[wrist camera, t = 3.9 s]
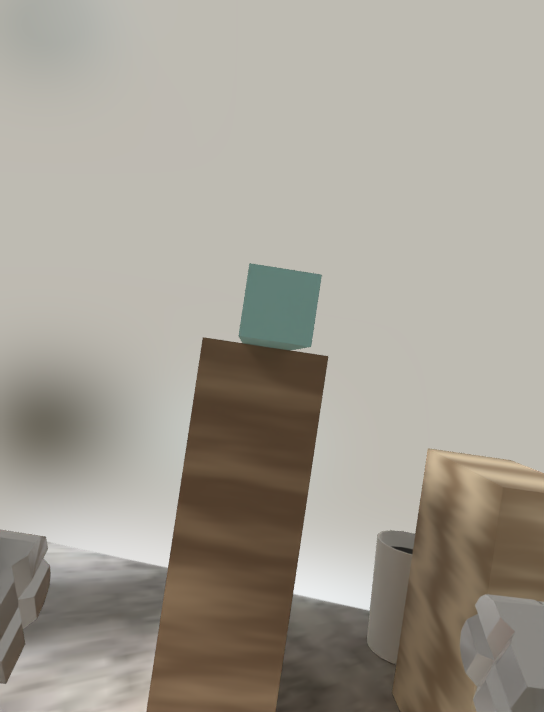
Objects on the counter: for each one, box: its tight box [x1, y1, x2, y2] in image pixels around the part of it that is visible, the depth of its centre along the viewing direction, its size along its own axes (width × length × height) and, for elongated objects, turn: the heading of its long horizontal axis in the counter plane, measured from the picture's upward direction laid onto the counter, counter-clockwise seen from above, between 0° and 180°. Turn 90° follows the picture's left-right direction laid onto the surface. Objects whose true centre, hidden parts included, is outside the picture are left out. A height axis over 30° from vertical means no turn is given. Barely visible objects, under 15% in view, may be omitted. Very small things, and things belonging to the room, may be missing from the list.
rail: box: [239, 263, 322, 350], centre depth 33 cm, size 26×3×3 cm, turn 3°
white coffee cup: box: [367, 530, 415, 664], centre depth 47 cm, size 7×7×10 cm
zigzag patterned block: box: [392, 449, 544, 712], centre depth 34 cm, size 12×7×20 cm, turn 3°
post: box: [146, 338, 328, 712], centre depth 39 cm, size 15×8×26 cm, turn 3°
